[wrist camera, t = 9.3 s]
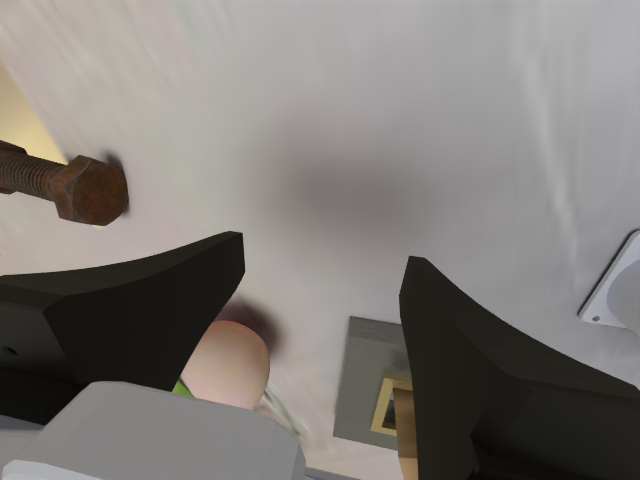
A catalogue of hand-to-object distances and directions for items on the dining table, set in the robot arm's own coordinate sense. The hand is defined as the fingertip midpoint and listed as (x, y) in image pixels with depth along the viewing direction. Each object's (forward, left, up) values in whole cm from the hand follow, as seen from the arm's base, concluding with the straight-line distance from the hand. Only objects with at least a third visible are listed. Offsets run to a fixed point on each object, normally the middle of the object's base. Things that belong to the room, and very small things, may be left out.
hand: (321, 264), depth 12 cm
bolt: (+27, +1, -11) cm, 29 cm away
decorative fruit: (+9, +16, -11) cm, 21 cm away
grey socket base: (-10, +20, -10) cm, 25 cm away
